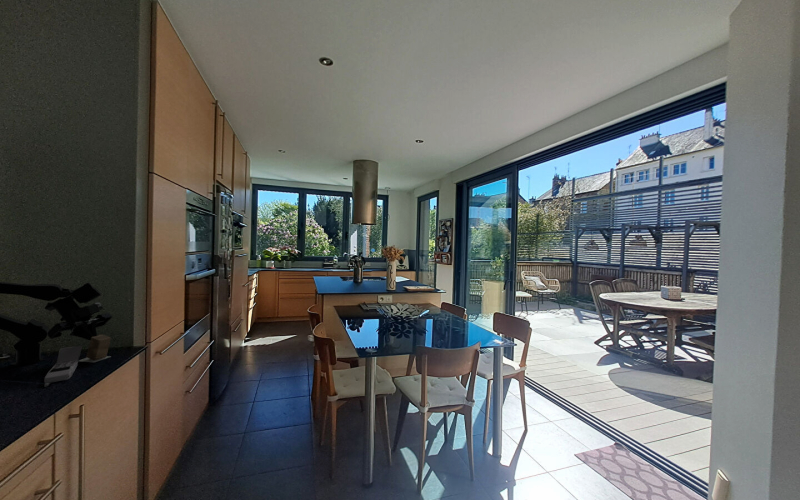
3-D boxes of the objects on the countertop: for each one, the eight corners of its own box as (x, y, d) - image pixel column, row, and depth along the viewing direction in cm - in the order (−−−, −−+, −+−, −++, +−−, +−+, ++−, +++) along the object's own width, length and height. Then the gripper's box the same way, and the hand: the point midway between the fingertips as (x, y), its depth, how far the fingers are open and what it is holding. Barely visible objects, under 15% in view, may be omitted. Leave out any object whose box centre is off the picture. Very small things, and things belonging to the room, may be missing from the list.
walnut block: (86, 357, 116) (91, 337, 116) (97, 353, 120) (102, 334, 120) (95, 360, 116) (100, 340, 115) (106, 356, 120) (111, 337, 119)
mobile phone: (82, 344, 118) (68, 365, 98) (83, 359, 118) (69, 383, 98) (59, 347, 114) (40, 370, 94) (60, 363, 114) (40, 389, 95)
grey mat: (76, 362, 115) (76, 361, 115) (94, 356, 121) (94, 355, 121) (94, 363, 114) (94, 362, 114) (111, 357, 120) (111, 356, 120)
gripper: (54, 301, 109) (82, 333, 108) (108, 293, 127) (132, 320, 127) (34, 322, 110) (62, 354, 109) (91, 311, 128) (115, 338, 128)
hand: (96, 340), depth 118 cm, fingers closed
